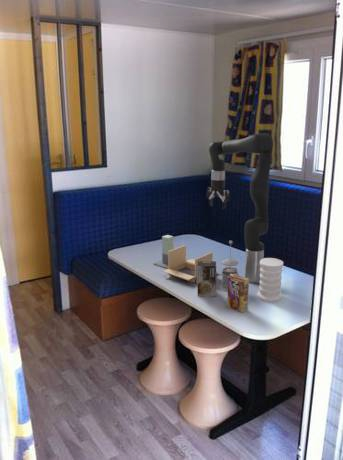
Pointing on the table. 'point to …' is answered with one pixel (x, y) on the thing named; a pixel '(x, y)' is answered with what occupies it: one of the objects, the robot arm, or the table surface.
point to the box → (166, 247)
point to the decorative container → (270, 280)
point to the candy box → (238, 292)
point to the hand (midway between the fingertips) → (217, 207)
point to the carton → (184, 263)
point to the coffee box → (206, 278)
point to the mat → (161, 264)
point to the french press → (228, 270)
